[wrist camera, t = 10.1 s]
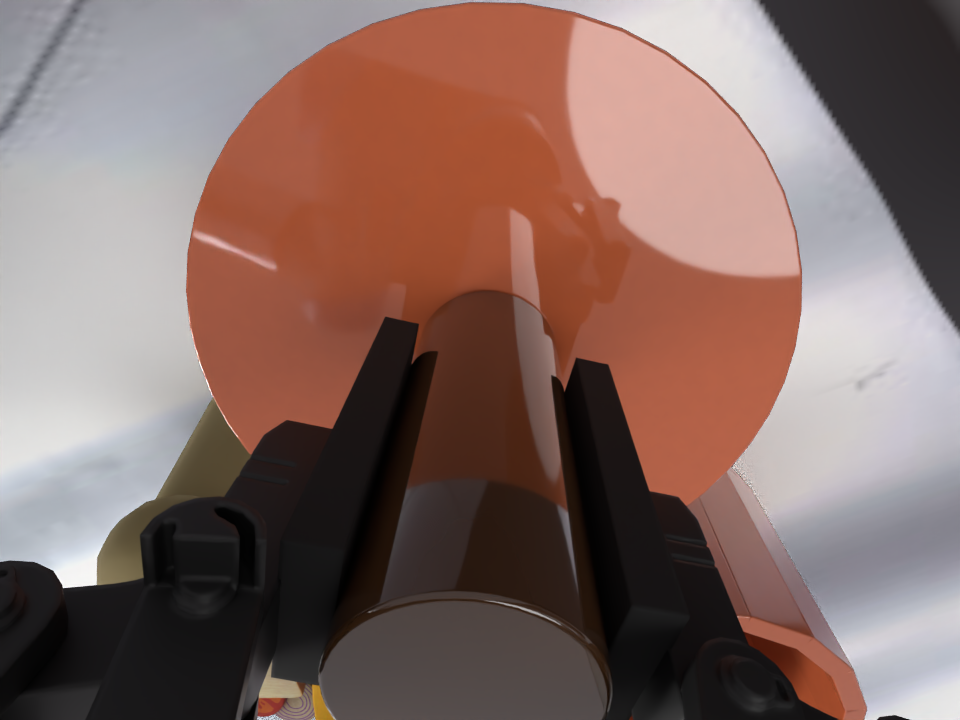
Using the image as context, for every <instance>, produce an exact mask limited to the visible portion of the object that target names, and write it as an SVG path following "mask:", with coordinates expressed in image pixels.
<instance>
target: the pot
mask: <svg viewBox="0 0 960 720" xmlns="http://www.w3.org/2000/svg"><path fill="white" fill-rule="evenodd" d="M687 507H688V509H689V510H690V511H691V512H692V513H693V514H694V516H695V517H696V518H697V519H698V522H699V524H700V527H701V529H702V531H703V534H704V536H705V539H706V541H707V547H709V549H710V551H711V553H712V556H713V558H714V561H715V567H717V568H718V571H719V573H720V576H721V578H722V580H723V583H724V585H725V588H726V590H727V593H728V595H729V598H730V600H731V602H732V605H733V607H734V610H735V612H736V615H737V617H738V620H739V622H740V625H741V627H742V629H743V632H744V634H745V637H746V639H747V642H748V644H749V646H751V647H753V648H755V649H758V650H759V651H760V652H761V653H763V654H764V655H765V656H766V657H768V658H769V659H770V660H771V661H773V662H774V663H775V664H776V665H777V666H778V667H779V668H780V670H781V671H782V672H783V673H784V675H785V676H786V677H787V678H788V680H789V681H790V682H791V683H792V685H793V687H794V690H795V692H796V694H797V696H798V698H799V699H800V700H801V701H803V702H805V703H807V704H808V705H810V706H812V707H814V708H816V709H818V710H820V711H822V712H824V713H826V714H828V715H830V716H833V717H835V718H837V719H839V720H864V718H865V715H866V711H867V706H866V703H865V700H864V697H863V694H862V692H861V689H860V686H859V683H858V680H857V677H856V675H855V672H854V669H853V668H852V666H851V664H850V662H849V661H848V659H847V657H846V655H845V654H844V652H843V650H842V648H841V646H840V645H839V643H838V641H837V639H836V638H835V636H834V634H833V632H832V631H831V629H830V627H829V625H828V623H827V622H826V620H825V618H824V616H823V615H822V613H821V611H820V609H819V608H818V606H817V604H816V602H815V601H814V599H813V597H812V595H811V593H810V592H809V590H808V588H807V586H806V585H805V583H804V581H803V579H802V578H801V576H800V574H799V572H798V570H797V569H796V567H795V565H794V563H793V562H792V560H791V558H790V556H789V555H788V553H787V551H786V549H785V548H784V546H783V544H782V542H781V540H780V539H779V537H778V535H777V533H776V532H775V530H774V528H773V526H772V525H771V523H770V521H769V519H768V517H767V516H766V514H765V512H764V510H763V509H762V507H761V505H760V503H759V502H758V500H757V498H756V496H755V495H754V493H753V491H752V489H751V488H750V487H749V486H748V485H747V484H746V483H745V482H744V480H743V479H742V478H741V477H740V476H739V475H738V474H737V473H736V471H735V470H734V469H733V468H730V469H729V470H728V471H727V472H726V473H725V474H724V475H723V476H722V477H721V478H720V479H719V480H718V481H716V482H715V483H714V484H713V485H712V486H711V487H710V488H709V489H708V490H707V491H706V492H705V493H704V494H702V495H701V496H700V497H698V498H697V499H696V500H694V501H693V502H692V503H690V504H689V505H688V506H687ZM629 720H633V717H632V716H631V717H630V719H629Z"/></svg>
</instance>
